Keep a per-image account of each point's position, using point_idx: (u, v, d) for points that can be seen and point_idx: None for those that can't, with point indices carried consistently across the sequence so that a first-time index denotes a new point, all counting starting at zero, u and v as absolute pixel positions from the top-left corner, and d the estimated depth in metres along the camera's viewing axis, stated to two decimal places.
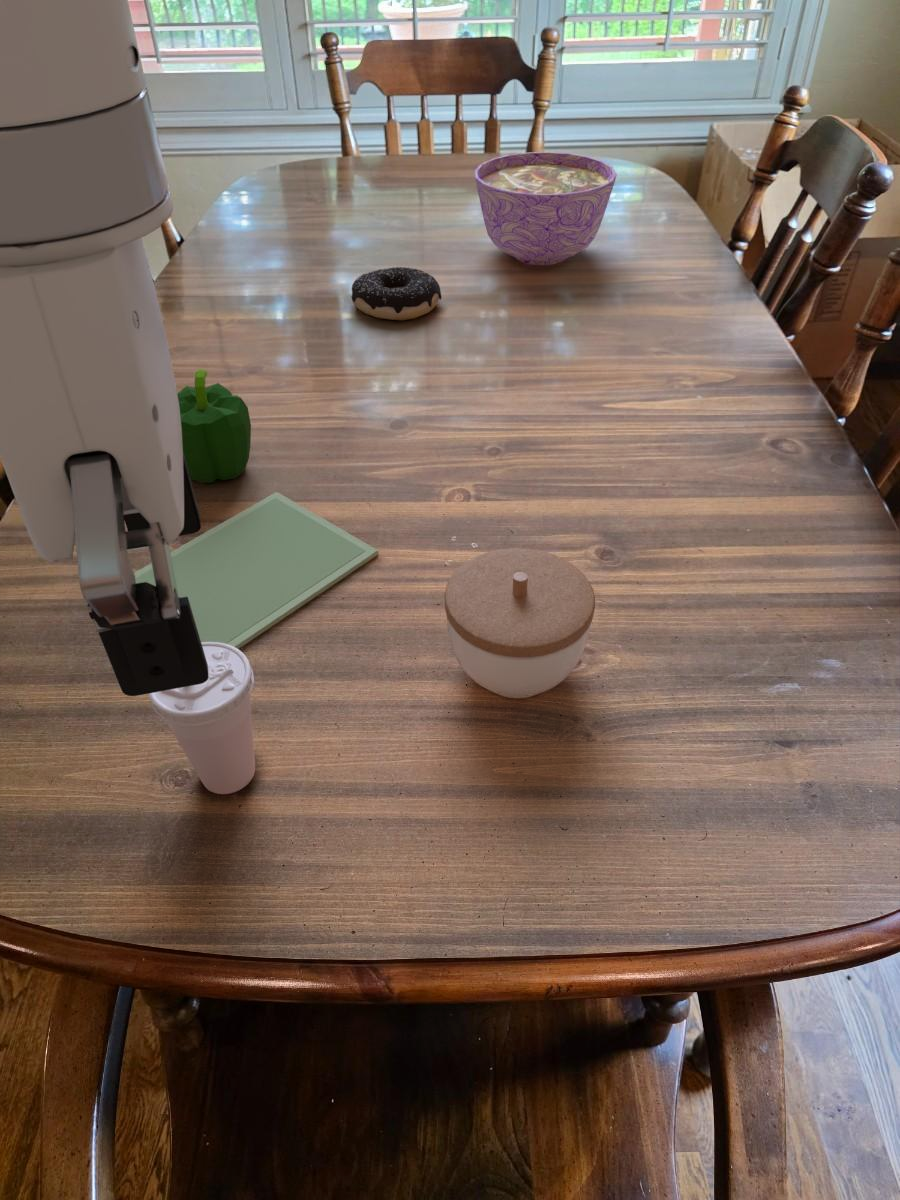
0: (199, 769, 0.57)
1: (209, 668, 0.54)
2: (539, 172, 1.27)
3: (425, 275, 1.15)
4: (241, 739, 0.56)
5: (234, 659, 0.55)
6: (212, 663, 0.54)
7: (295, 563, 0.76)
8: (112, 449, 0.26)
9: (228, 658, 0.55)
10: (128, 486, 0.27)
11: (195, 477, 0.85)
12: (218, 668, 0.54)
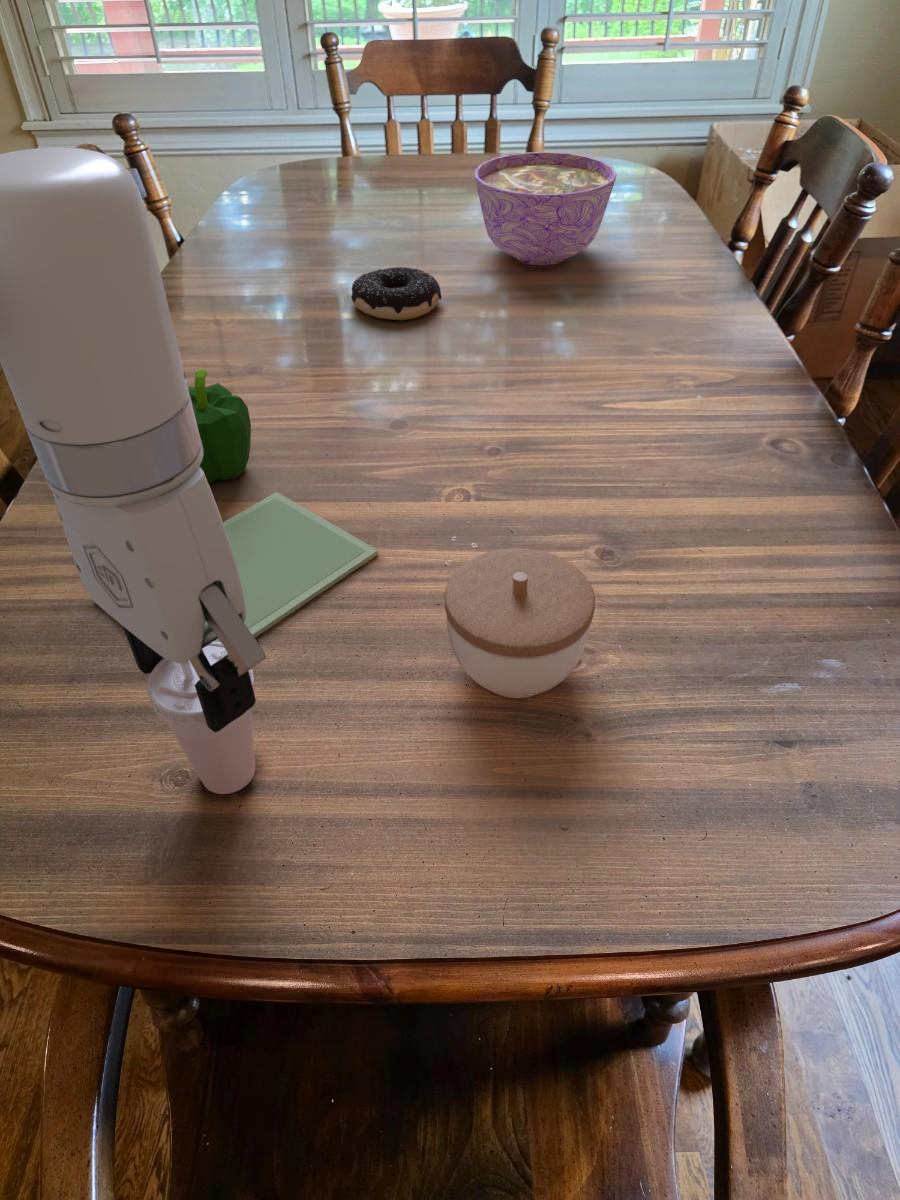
0: (199, 768, 0.57)
1: None
2: (539, 172, 1.27)
3: (425, 275, 1.15)
4: (241, 738, 0.56)
5: None
6: (211, 662, 0.54)
7: (295, 563, 0.76)
8: (222, 583, 0.45)
9: None
10: (228, 596, 0.45)
11: None
12: None
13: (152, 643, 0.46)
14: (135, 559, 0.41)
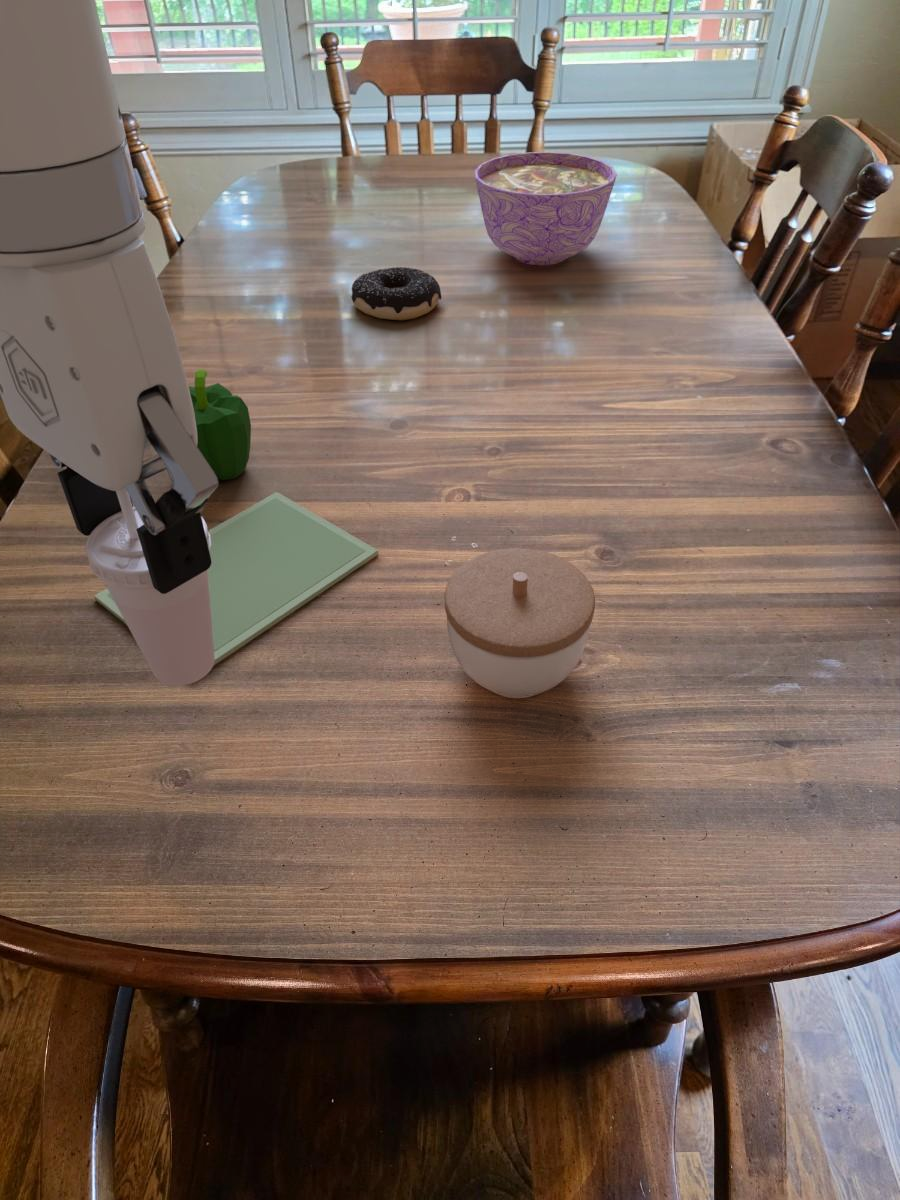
0: (147, 651, 0.49)
1: None
2: (539, 172, 1.27)
3: (425, 275, 1.15)
4: (196, 615, 0.48)
5: None
6: None
7: (295, 563, 0.76)
8: (166, 391, 0.37)
9: None
10: (175, 409, 0.38)
11: None
12: None
13: (83, 467, 0.38)
14: (56, 342, 0.34)
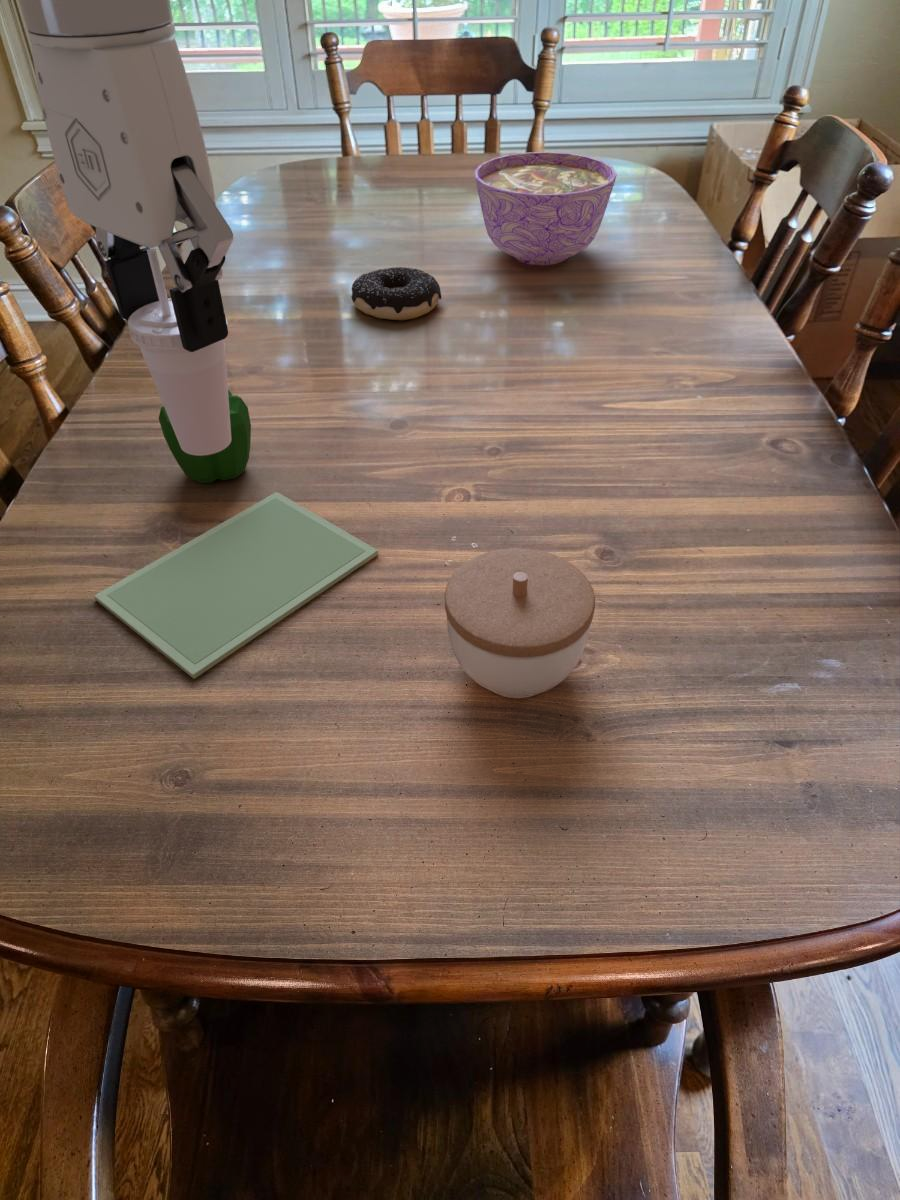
0: (177, 420, 0.60)
1: None
2: (539, 172, 1.27)
3: (425, 275, 1.15)
4: (216, 386, 0.59)
5: None
6: None
7: (295, 563, 0.76)
8: (192, 162, 0.48)
9: None
10: (199, 180, 0.49)
11: (195, 477, 0.85)
12: None
13: (129, 229, 0.50)
14: (111, 111, 0.45)
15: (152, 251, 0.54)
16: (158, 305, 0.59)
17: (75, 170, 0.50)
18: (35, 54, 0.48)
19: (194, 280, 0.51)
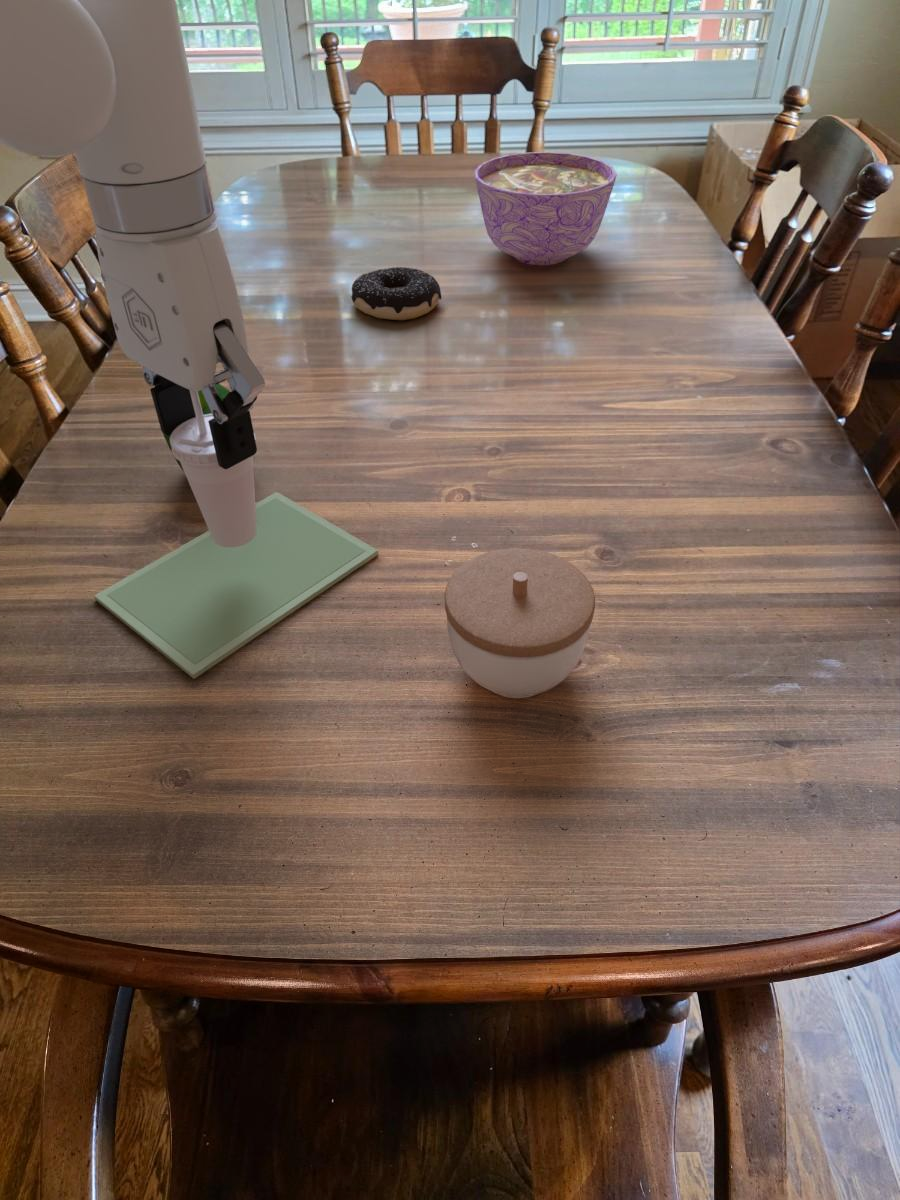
0: (210, 519, 0.69)
1: None
2: (539, 172, 1.27)
3: (425, 275, 1.15)
4: (245, 491, 0.68)
5: None
6: None
7: (295, 563, 0.76)
8: (230, 323, 0.57)
9: None
10: (235, 336, 0.58)
11: None
12: None
13: (176, 376, 0.59)
14: (164, 289, 0.54)
15: None
16: (195, 422, 0.68)
17: (129, 324, 0.59)
18: (98, 234, 0.56)
19: (230, 415, 0.60)
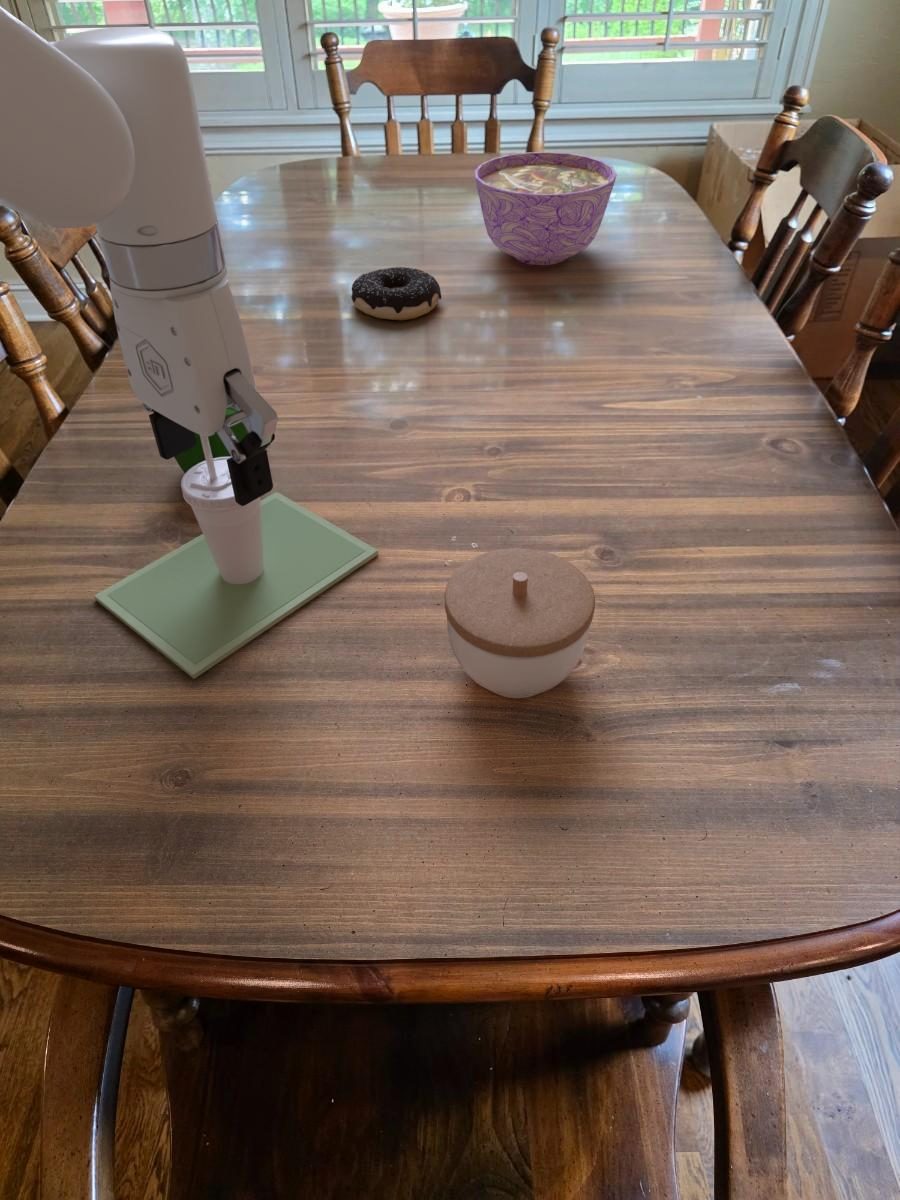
0: (219, 558, 0.72)
1: (228, 472, 0.69)
2: (539, 172, 1.27)
3: (425, 275, 1.15)
4: (253, 532, 0.71)
5: None
6: None
7: (295, 563, 0.76)
8: (239, 366, 0.59)
9: None
10: None
11: None
12: None
13: (187, 421, 0.61)
14: (177, 342, 0.56)
15: None
16: (205, 465, 0.70)
17: (142, 371, 0.62)
18: (113, 287, 0.59)
19: (248, 454, 0.62)
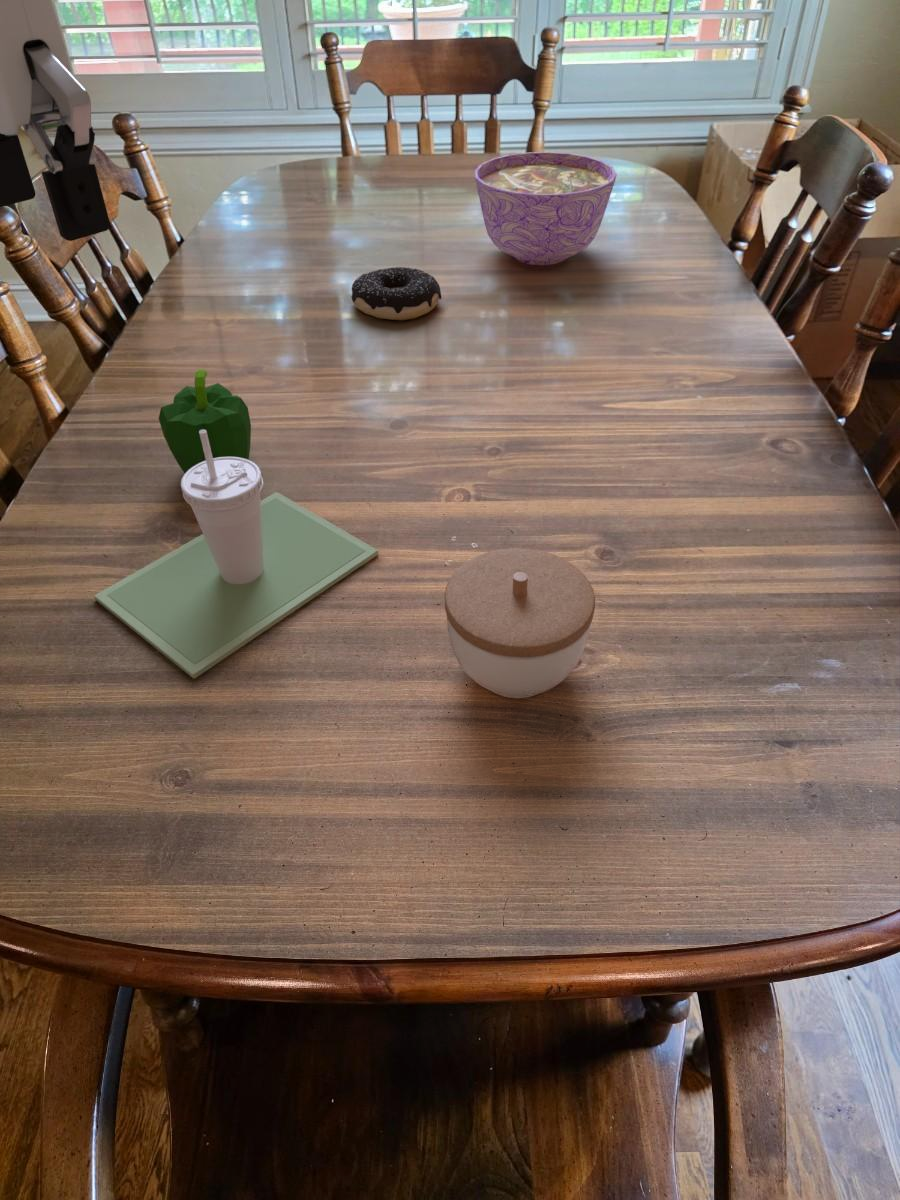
0: (219, 558, 0.72)
1: (228, 472, 0.69)
2: (539, 172, 1.27)
3: (425, 275, 1.15)
4: (253, 532, 0.71)
5: (248, 467, 0.70)
6: (230, 469, 0.70)
7: (295, 563, 0.76)
8: (45, 39, 0.49)
9: (243, 466, 0.70)
10: None
11: None
12: (235, 472, 0.69)
13: None
14: None
15: (203, 432, 0.66)
16: (205, 465, 0.70)
17: None
18: None
19: (64, 160, 0.51)
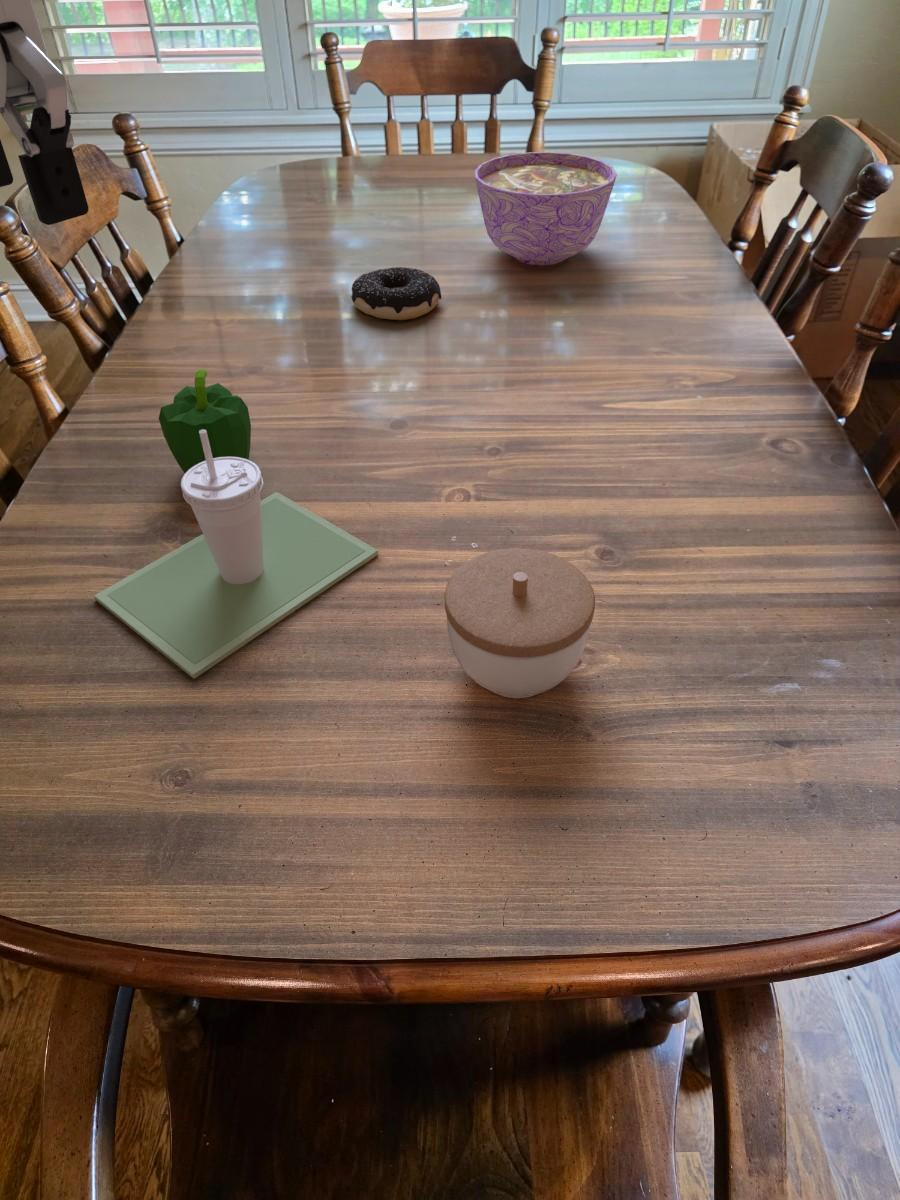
0: (219, 558, 0.72)
1: (228, 472, 0.69)
2: (539, 172, 1.27)
3: (425, 275, 1.15)
4: (253, 532, 0.71)
5: (248, 467, 0.70)
6: (230, 469, 0.70)
7: (295, 563, 0.76)
8: (19, 21, 0.48)
9: (243, 466, 0.70)
10: None
11: None
12: (235, 471, 0.69)
13: None
14: None
15: (203, 432, 0.66)
16: (205, 465, 0.70)
17: None
18: None
19: (41, 143, 0.51)
